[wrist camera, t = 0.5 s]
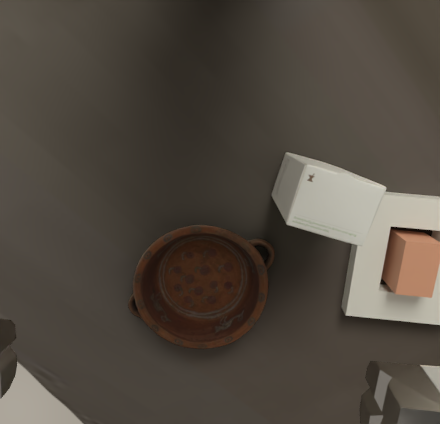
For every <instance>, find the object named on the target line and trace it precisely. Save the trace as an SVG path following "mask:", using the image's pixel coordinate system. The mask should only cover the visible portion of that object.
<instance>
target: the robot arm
mask: <svg viewBox="0 0 440 424" xmlns="http://www.w3.org/2000/svg"><path fill="white" fill-rule="evenodd" d="M15 339H16V329H15V324H14V323H13V322H12V321H11V320H8V319H0V398H2V397H3V395H4V394H5V393H6V392H7V390H8V389H9V388H10V386H11V383H12V381H13V379H14V377H15V373H16V367H17V355H16V354H15V352H14V351H13V349H12V348H11V347H10V345H11V344H12V342H13V341H14V340H15ZM365 378H366V380H367V383H368V385H369V387H370V388H369V389H368V390H367V391H366V392H364V393H363V394H362V396H361V402H360V424H440V367H439V366H427V365H414V364H402V363H390V362H379V361H370V363H369V365H368V367H367V371H366V376H365Z"/></svg>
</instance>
